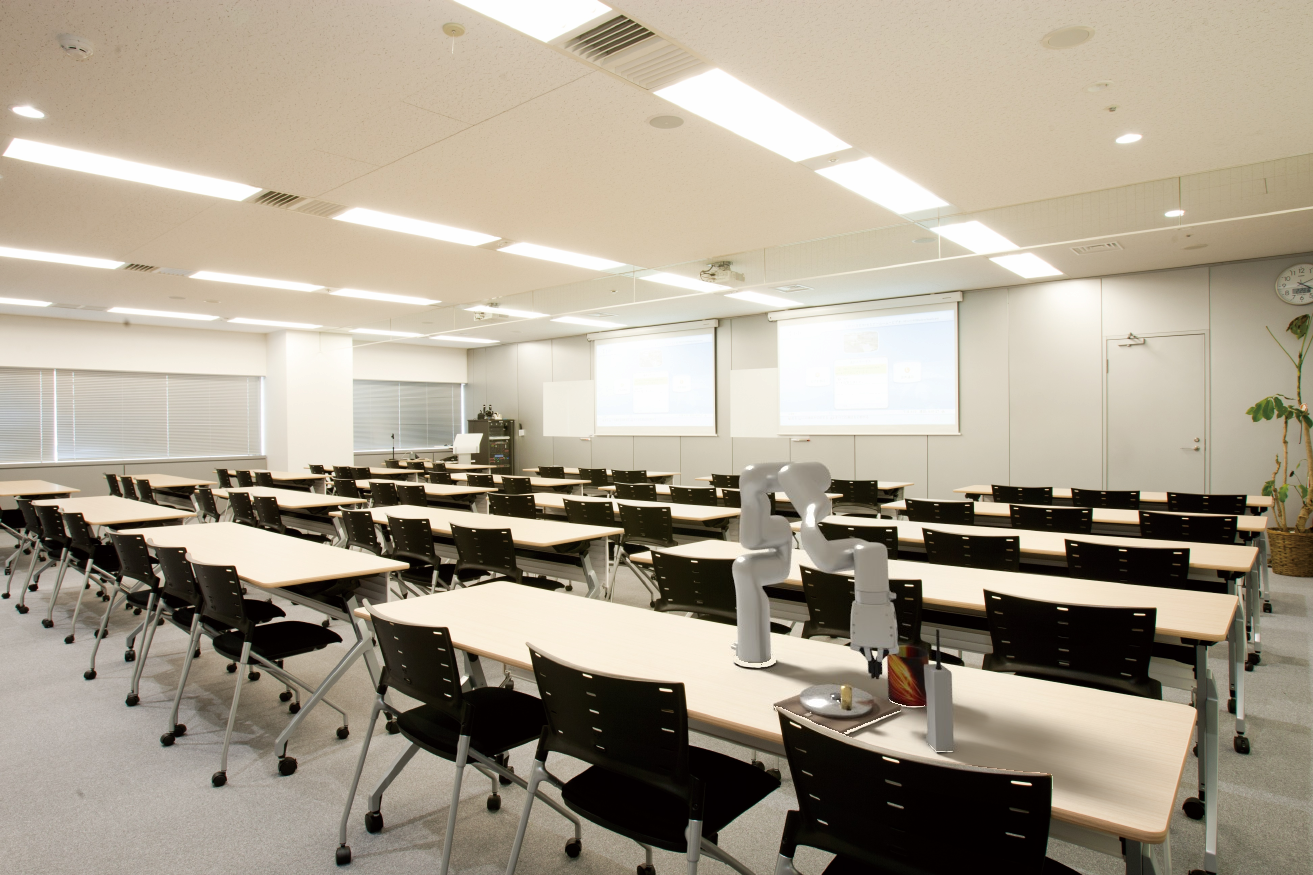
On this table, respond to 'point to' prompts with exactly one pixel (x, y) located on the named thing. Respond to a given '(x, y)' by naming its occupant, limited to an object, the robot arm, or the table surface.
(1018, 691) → the table surface
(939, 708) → the vintage mobile phone
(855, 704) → the dial
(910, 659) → the mug
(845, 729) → the base board
